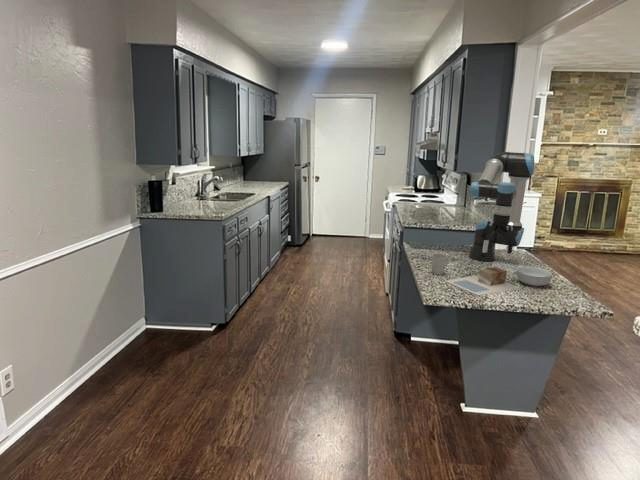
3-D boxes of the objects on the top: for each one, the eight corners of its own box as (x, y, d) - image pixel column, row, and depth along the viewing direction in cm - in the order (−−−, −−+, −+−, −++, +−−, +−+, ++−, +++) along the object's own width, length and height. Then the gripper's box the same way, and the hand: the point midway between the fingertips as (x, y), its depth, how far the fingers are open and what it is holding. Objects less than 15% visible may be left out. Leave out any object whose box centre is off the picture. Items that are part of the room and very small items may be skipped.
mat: (484, 275, 242) (484, 274, 242) (520, 288, 223) (520, 287, 223) (444, 281, 227) (444, 280, 227) (478, 296, 209) (478, 295, 209)
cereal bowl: (516, 276, 242) (518, 264, 240) (550, 283, 234) (553, 270, 232) (512, 285, 228) (514, 271, 226) (548, 292, 220) (551, 278, 218)
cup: (445, 272, 242) (448, 254, 239) (444, 277, 234) (447, 258, 232) (430, 270, 244) (432, 252, 242) (428, 274, 237) (431, 256, 234)
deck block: (493, 279, 235) (495, 267, 233) (504, 283, 229) (506, 271, 227) (477, 281, 229) (479, 269, 227) (488, 286, 223) (490, 273, 221)
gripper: (476, 209, 229) (471, 250, 234) (518, 219, 208) (511, 263, 213) (486, 209, 232) (480, 249, 237) (529, 218, 211) (521, 261, 216)
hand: (495, 255), depth 225 cm, fingers open, 13 cm apart
